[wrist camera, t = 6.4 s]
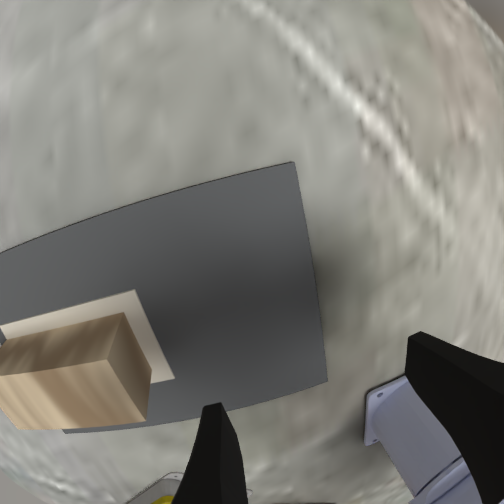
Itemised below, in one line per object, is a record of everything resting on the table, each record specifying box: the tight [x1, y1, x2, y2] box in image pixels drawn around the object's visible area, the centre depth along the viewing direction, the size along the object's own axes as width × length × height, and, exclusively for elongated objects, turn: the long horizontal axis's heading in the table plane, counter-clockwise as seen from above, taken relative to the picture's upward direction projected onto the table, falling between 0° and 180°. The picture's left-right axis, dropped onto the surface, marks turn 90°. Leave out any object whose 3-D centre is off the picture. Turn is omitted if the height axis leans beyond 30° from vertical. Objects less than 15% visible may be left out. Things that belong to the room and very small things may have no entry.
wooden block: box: [0, 312, 152, 429], centre depth 13 cm, size 4×4×9 cm
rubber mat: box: [0, 162, 328, 434], centre depth 16 cm, size 20×14×1 cm
